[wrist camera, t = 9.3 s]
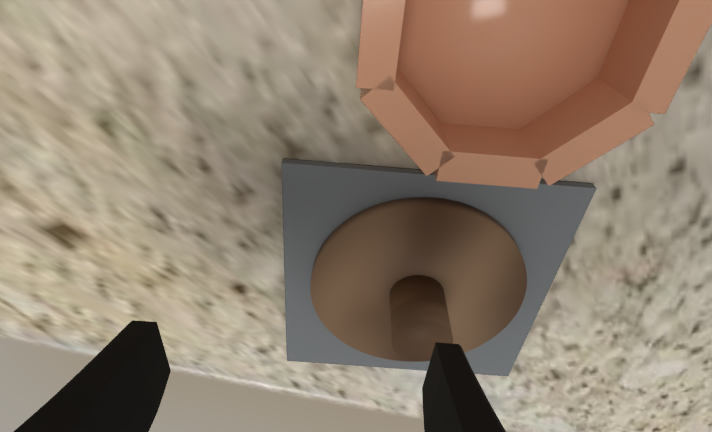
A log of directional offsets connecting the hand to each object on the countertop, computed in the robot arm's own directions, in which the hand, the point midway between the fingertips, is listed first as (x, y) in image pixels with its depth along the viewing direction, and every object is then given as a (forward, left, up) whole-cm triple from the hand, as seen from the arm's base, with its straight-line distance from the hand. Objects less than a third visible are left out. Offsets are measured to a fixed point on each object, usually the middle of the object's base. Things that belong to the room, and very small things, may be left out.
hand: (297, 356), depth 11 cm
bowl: (-6, -7, -10) cm, 14 cm away
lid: (-5, +6, -10) cm, 12 cm away
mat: (-5, +7, -10) cm, 13 cm away
